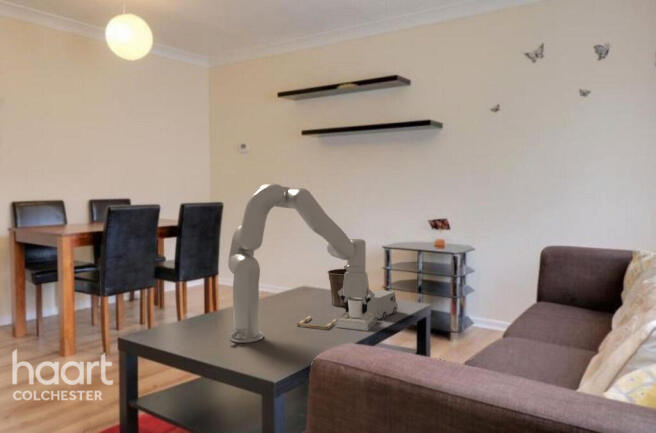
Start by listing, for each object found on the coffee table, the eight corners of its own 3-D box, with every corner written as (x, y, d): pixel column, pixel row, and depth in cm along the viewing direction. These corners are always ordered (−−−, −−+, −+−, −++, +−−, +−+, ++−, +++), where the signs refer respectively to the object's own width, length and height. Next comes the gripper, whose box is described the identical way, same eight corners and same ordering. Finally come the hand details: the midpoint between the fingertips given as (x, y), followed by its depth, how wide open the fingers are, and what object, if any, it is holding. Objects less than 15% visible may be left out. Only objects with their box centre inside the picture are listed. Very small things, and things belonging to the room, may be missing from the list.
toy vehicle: (399, 312, 219) (399, 290, 218) (379, 321, 204) (379, 298, 204) (382, 309, 224) (382, 288, 223) (361, 318, 209) (362, 295, 209)
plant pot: (320, 304, 234) (320, 271, 233) (344, 298, 245) (344, 267, 244) (343, 310, 222) (344, 275, 221) (368, 304, 233) (368, 271, 232)
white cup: (354, 318, 195) (354, 301, 194) (344, 314, 200) (344, 298, 200) (367, 316, 199) (367, 299, 198) (357, 312, 204) (357, 296, 204)
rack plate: (367, 330, 191) (367, 321, 190) (334, 327, 196) (334, 318, 196) (377, 321, 204) (377, 312, 203) (345, 318, 209) (346, 309, 209)
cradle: (326, 329, 192) (326, 326, 192) (297, 326, 197) (297, 323, 197) (337, 321, 203) (337, 319, 203) (309, 318, 208) (309, 316, 208)
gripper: (333, 269, 198) (333, 312, 199) (374, 272, 191) (373, 316, 193) (339, 266, 205) (339, 308, 206) (379, 269, 198) (378, 312, 200)
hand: (355, 311), depth 199 cm, fingers closed on white cup, 6 cm apart
